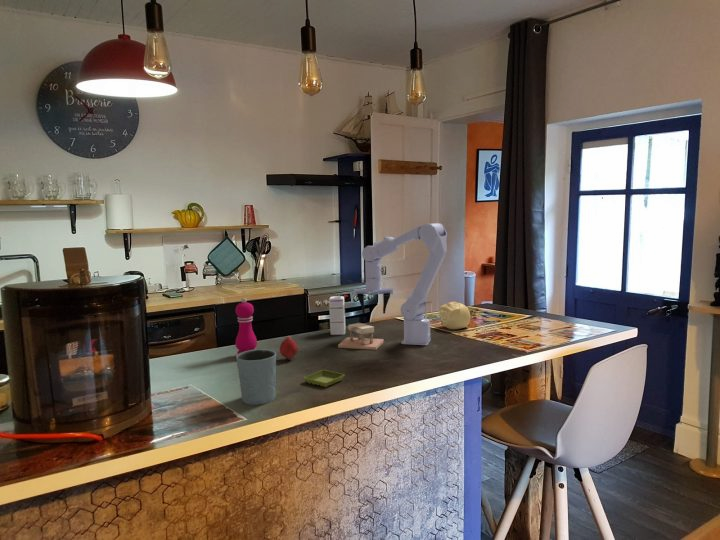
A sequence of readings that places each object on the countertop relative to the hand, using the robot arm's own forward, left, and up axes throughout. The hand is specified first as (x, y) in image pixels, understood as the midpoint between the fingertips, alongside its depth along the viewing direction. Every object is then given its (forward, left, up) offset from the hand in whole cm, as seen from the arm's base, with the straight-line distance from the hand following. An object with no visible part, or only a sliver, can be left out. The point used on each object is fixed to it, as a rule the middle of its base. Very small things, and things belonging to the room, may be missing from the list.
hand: (373, 313), depth 197 cm
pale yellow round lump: (-28, -22, -10) cm, 37 cm away
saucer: (+1, +52, -10) cm, 53 cm away
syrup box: (+16, -4, -10) cm, 19 cm away
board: (+2, +11, -9) cm, 15 cm away
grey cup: (+13, +69, -10) cm, 71 cm away
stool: (+2, +11, -8) cm, 14 cm away
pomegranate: (+20, +34, -10) cm, 41 cm away
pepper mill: (+36, +33, -10) cm, 50 cm away
